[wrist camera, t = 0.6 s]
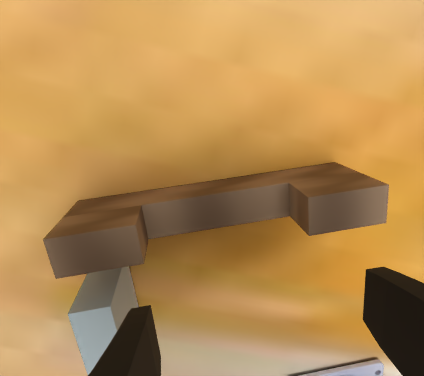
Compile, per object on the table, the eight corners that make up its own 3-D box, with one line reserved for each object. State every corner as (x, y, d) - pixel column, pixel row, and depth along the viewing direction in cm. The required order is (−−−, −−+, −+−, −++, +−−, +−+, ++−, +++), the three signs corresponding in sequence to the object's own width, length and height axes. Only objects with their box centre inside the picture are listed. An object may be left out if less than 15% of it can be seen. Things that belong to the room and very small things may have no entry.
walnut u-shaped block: (335, 162, 19) (388, 184, 14) (334, 191, 20) (386, 223, 15) (78, 200, 18) (43, 239, 13) (86, 231, 18) (55, 278, 14)
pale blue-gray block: (158, 391, 23) (154, 468, 18) (132, 396, 23) (121, 476, 18) (126, 254, 19) (110, 306, 14) (94, 259, 19) (67, 314, 14)
